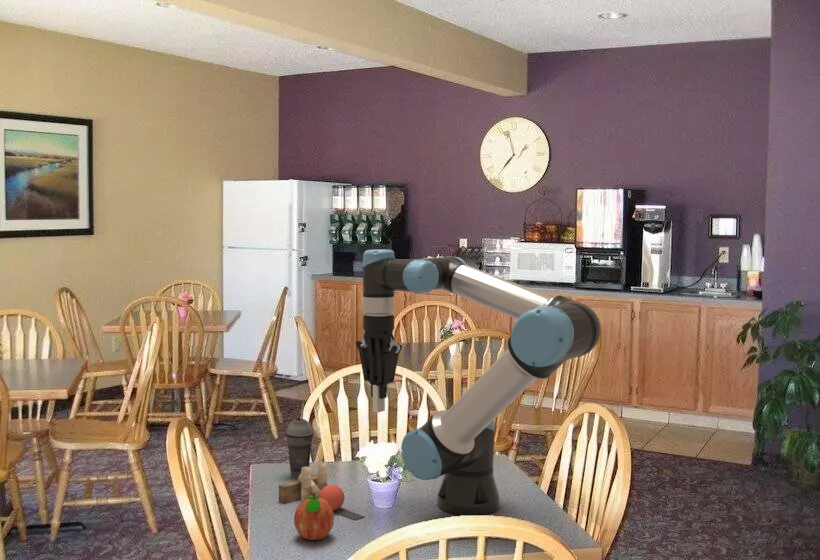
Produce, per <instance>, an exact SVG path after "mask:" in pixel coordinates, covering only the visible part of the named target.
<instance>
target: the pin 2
mask: <svg viewBox="0 0 820 560" xmlns="http://www.w3.org/2000/svg"><path fill="white" fill-rule="evenodd" d="M316 468H317V469H316V472H317V473H316V475H317V486H318V488H319V489H320V490H322V489H323V488H324V487H326V486H328V463H327V462H324V461H323V462H317V467H316Z"/></svg>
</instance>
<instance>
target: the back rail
mask: <svg viewBox="0 0 820 560" xmlns="http://www.w3.org/2000/svg"><path fill="white" fill-rule="evenodd" d="M311 479H312V481H313V482H314V483H315V484H316V485H317V474H316V475H311ZM297 500H301V482H300V481H299V480H298V479H296V480H293V481H290V482H287V483H282V484H279V485H278V502H279V503H282V504H287V503H290V502H295V501H297Z"/></svg>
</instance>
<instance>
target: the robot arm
mask: <svg viewBox="0 0 820 560" xmlns="http://www.w3.org/2000/svg"><path fill="white" fill-rule="evenodd" d="M362 256H363V257H362V267H361V268H362V269H361V270H362V291H363V294H362V312H363V313H364V315H363V316H362V329H363V331H364V333H363V338H362V339H360V340H357V341H356V342H355V345H356V347H357V350H358V353H359V358H360V364H361V370H362V375H363V380H364V381H365V382H366V381H367V382H369V384H370V396H371V398H372V412H373V413H376V414H377V413H381V412H385V411H386V407H385V406H386V403H385V402H386V398H387V397H388V394H387V393H388V392H387V390H388V385H389V384H391V383H392V384H393V383H394V382H395V376H396V371H397V366H398V360H399V355H400V352H401V351H402V350H403V345H402V344H398V343H397V342H396V341H395V337H394V333H393V332H394V330H395V316H394V314H393V313H394V312H395V292H397V291H399V292H405V293H406V292H408V293H414V294H422V293H423V294H424V293H425V294H428V293H431V292H432V291H433V290H444V291H447V292H449V293H453V294H454V295H457V296H460V297H462V298H465V299H467V300H470V301H472V302H474V303H477V304H480V305H481V306H484V307H486V308H489V309H491V310H493V311H496V312H499V313H501V314H503V315H506V316H508V317H511V318H513V319H515V320H516V321H515V323H514V324H513V326H512V329H511V335H510V336H509V337H508V338H507V341H506V350H505V352H504V353H502V355H500V356H499V358H497V359H496V361H494V363H492V365H491V366H490V367H489V368H487V369H486V371H485V372H483V374H482V375H481V376H480V377H479V378H477V380H476V381H475V382H474V383H473V384H472V385H471V386H470V387H469V388H468V389H467V390H466V391H465V392H464V393H463V394H462V395H461V396H460V397H459V398H458V399H457V400H456V401H455V402H454V403H453V404H452V405H451V406H450V407H449V409H447V410H445V409H444V410H438V411H437V412H435V413H434V414H433V415H432V416H431V417H430V418H429V419H428V420H427V421H426V422H425V423H424V424H423V425H422V426H420V427H419V428H413V429H412V430H410V431H408V432H407V433H406V434H405V435H404V437H403V438H402V442H401V447H400V450H401V458H402V461H403V463H404V465H405V467H406V469H407V471H409V473H410V474H411V475H412V476H413V477H415V478H417V479H418V480H419V479H420V480H422V481H430V480H436V479H438V478H439V477H441V476H443V478H442V480H441V484H440V487H439V489H438V492H437V499H436V501H437V503H436V504H437V506H438V507H439V509H440V510H442V511H445V512H447V513H450V514H455V515H460V516H465V515H464V514H483V515H488V514H491V513H494V512H495V511H497V510H499V508H500V506H501V504H500V503H501V502H500V501H501V496H500V494H499V490H498V487H497V483H496V481H495V477H494V457H495V456H494V455H495V454H494V453H495V452H494V451H495V450H494V447H495V431H496V429H495V420H496V419H497V417H498V416H499V415H500V414H501V413H502V412H504V411H505V409H507V407H508V406H510V405H511V404H512V403H513V402H514V401H515V400H516V399H517V398H518V397H519V396H520V395H522V393H523V392H524V391H525V390H526V389H527V388H528V387H530V386H531V384H532V383H533V382H535V381H536V380H546V379H548V378H549V377H550V376H551V375H552V374H554V373H555V371H557V370H558V369H559V368H560V367H561V366H562V365H563V364H564V363H565V362H566V361H568V360H572V359H575V358H579V357H583V356H585V355H588V354H589V353H591V351H592V350H594V349H595V347H596V346H597V345H598V343H599V341H600V339H601V335H602V327H601V321H600V318H599V316H598V315H597V313H596V312H595V310H593V309H592V308H591V307H590V306H588V305H587V304H585V303H582V302H580V301H577V300H574V299H571V298H570V297H565V296H562V295H560V294H556V295H554V296H551V295H547V294H545V293H542V292H539V291H536V290H534V289H532V288H529V287H526V286H524V285H521V284H517V283H515V282H513V281H510V280H508V279H506V278H502V277H500V276H497V275H494V274H491V273H490V272H487V271H484V270H481V269H479V268H476V267H473V266H470V265H468V264H467V263H466V262H465V260H464V259H463V258H461V257H458V256H450V255H449V256H441V257H430V258H416V259H415V258H414V259H412V258H411V259H410V258H409V259H408V258H406V259H405V258H404V259H401V258H400V259H398V258H396V257H395V252H394V250H392V249H385V248H384V249H376V248H375V249H366V250H365V251H364V252H363V255H362Z"/></svg>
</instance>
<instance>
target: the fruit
mask: <svg viewBox="0 0 820 560" xmlns="http://www.w3.org/2000/svg"><path fill="white" fill-rule="evenodd" d="M304 498H307V499H305V500H303V501H302V502H301V501H300V503H299V504H298V505H297V507H296V508H295V511H294V517H293V521H294V527H295V529H296V532H297V533H298V534H299V536H300V537H302V538H303V539H305V540H310V541H319V540H322V539H324V538H325V537H327V536H328V535H329V533H330V532H331V530H332V529H333V526H334V521H335V516H334V515H335V513H334V512H333V510H332V508H331V506H330V505H329V503H328V502H327V501H325V500H324V499H322V498H318V496H315V493H313V495H311V496H306V497H304Z"/></svg>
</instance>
